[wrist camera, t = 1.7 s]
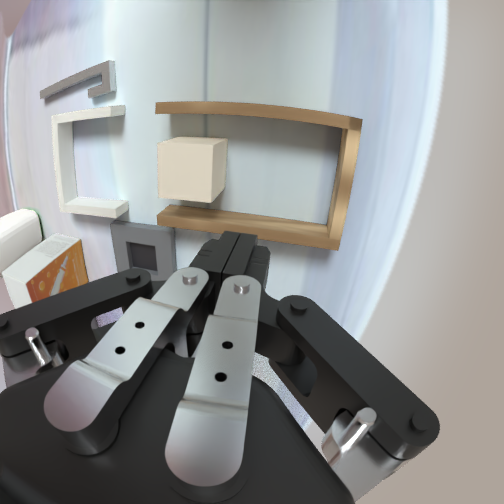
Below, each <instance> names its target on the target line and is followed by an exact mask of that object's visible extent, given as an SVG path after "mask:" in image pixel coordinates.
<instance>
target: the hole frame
mask: <svg viewBox="0 0 504 504" xmlns="http://www.w3.org/2000/svg"><path fill="white" fill-rule="evenodd" d="M110 227H111V234H112V241H113V247H114V253H115V259H116V265H117V271H118V272H121V271H124V270H128V269H132V268H141V269H144V270H147V271H148V272H149V273H150V274H151V280H152V281H165V280H168V279H169V278H170V277H171V276H172V274H173V273H174V272H176V271H177V270H176V255H175V235H174V228H170V227H163V226H155V225H147V224H139V223H132V222H124V221H116V220H115V221H113V222H112V223H111V224H110Z"/></svg>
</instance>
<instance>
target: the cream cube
mask: <svg viewBox="0 0 504 504" xmlns="http://www.w3.org/2000/svg"><path fill="white" fill-rule="evenodd" d="M227 145H228V139H226V138H209V137H184V136H179V137H176V138H172V139H169V140H166V141H162V142H159V143H157V158H158V198H167V199H178V200H188V201H197V202H206V203H212V201H213V200H214V199H215V198H216V197H217V196H218V195H219V194H220V193H221V192H222V190H223V189H224V188H225V181H226V162H227Z"/></svg>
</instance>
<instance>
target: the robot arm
mask: <svg viewBox="0 0 504 504" xmlns="http://www.w3.org/2000/svg"><path fill="white" fill-rule="evenodd" d="M257 239H258V235H254V234H247V233H240V232H232V231H224V232H223V234H222V236H221V237H220V239H219V240H215V239H212V240H210V241H208V242H206V243H205V244H204V245H203V246H202V248H201V250H200V251H199V252H198V254H197V255H196V257H195V258H194V260H193V261H192V263H191V264H190V266H189V267H187V268H182V269H179V270H177V271H176V272H174V273H173V274H172V276H171V277H170V278H169V279H168V280H165V281H152V280H151V274H150V273H149V272H148V271H147V270H144V269H141V268H132V269H128V270H124V271H121V272H118V273H116V274H113V275H110V276H107V277H104V278H101V279H98V280H95V281H92V282H89V283H86V284H84V285H81V286H78V287H75V288H72V289H69V290H66V291H64V292H61V293H58V294H55V295H52V296H50V297H47V298H44V299H41V300H38V301H36V302H33V303H30V304H27V305H25V306H22V307H19V308H17V309H14V310H11V311H9V312H6V313H3V314H1V315H0V355H1V357H2V359H3V367H4V375H5V382H6V387H7V388H6V389H5V390H4V391H2V392H1V393H0V504H355V502H356V501H357V500H358V499H360V498H361V497H362V496H364V495H365V494H366V493H367V492H369V491H370V490H371V489H372V488H374V487H375V486H376V485H377V484H379V483H380V482H381V481H382V480H384V479H385V478H387V477H389V476H390V475H392V474H393V473H394V472H396V471H397V470H398V469H400V468H401V467H403V466H404V465H405V464H406V463H408V462H409V461H410V460H412V459H413V458H414V457H416V456H417V455H418V454H419V453H421V452H422V451H423V450H424V449H425V448H427V447H428V446H429V445H430V444H431V443H432V442H434V440H435V439H436V438H437V436H438V434H439V430H440V424H439V420H438V418H437V416H436V414H435V413H434V412H433V411H432V410H431V409H430V408H429V407H428V406H427V405H426V404H425V403H424V402H422V401H421V400H420V399H419V398H418V397H417V396H416V395H415V394H414V393H413V392H412V391H411V390H410V389H408V388H407V387H406V386H405V385H404V384H403V383H402V382H401V381H400V380H399V379H398V378H396V377H395V376H394V375H393V374H392V373H391V372H390V371H389V370H388V369H387V368H385V367H384V366H383V365H382V364H381V363H380V362H379V361H378V360H377V359H376V358H375V357H374V356H372V354H370V353H369V352H368V351H367V350H366V349H365V348H364V347H363V346H362V345H361V344H360V343H359V342H357V341H356V340H355V339H354V338H353V337H352V336H351V335H350V334H349V333H348V332H347V331H345V330H344V329H343V328H342V327H341V326H340V325H339V324H338V323H337V322H336V321H334V320H333V319H332V318H331V317H330V316H329V315H328V314H327V313H326V312H325V311H324V310H322V309H321V308H320V307H319V306H318V305H317V304H316V303H315V302H314V301H312V300H311V299H309V298H307V297H303V296H298V295H292V296H287V297H284V298H283V299H281V300H280V301H278V300H276V299H273V298H272V297H270V296H269V295H268V294H267V293H266V292H265V288H266V283H267V277H268V269H269V261H270V251H269V250H268V248H267V247H264V246H257ZM120 307H122V311H123V315H122V316H121V317H120V318H119V320H118V321H115V322H113V323H110V324H108V325H105V326H103V327H100V328H97V329H92V327H91V322H92V320H93V319H94V318H95V317H96V316H99V315H101V314H104V313H106V312H109V311H112V310H114V309H117V308H120ZM254 352H256V353H258V354H260V355H263V356H265V357H267V358H269V364H270V366H271V368H272V369H273V370H274V372H275V373H276V374H277V375H278V377H279V378H280V379H281V381H282V382H283V383H284V384H285V386H286V387H287V388H288V389H289V391H290V392H291V393H292V394H293V396H294V397H295V398H296V399H297V401H298V402H299V403H300V404H301V406H302V407H303V408H304V409H305V411H306V412H307V413H308V414H309V415H310V417H311V418H312V419H313V420H314V421H315V423H316V424H317V425H318V426H319V427H320V429H321V430H322V431H323V432H324V433H325V436H324V437H323V440H322V445H321V446H322V451H323V453H324V455H325V457H326V458H327V461H328V463H327V461H326V460H325V459H324V457H323V456H322V455H321V453H320V452H319V451H318V449H317V448H316V447H315V446H314V444H313V443H312V442H311V440H310V439H309V438H308V436H307V435H306V433H305V432H304V431H303V429H302V428H301V427H300V425H299V424H298V423H297V421H296V420H295V418H294V417H293V416H292V414H291V413H290V411H289V410H288V409H287V407H286V406H285V404H284V403H283V402H282V400H281V399H280V397H279V396H278V395H277V393H276V392H275V391H274V390H273V389H272V388H271V387H270V386H268V385H267V384H266V383H265V382H263V381H262V380H260V379H259V378H257V377H255V376H253V375H252V370H253V361H254Z"/></svg>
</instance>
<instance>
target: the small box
mask: <svg viewBox="0 0 504 504" xmlns="http://www.w3.org/2000/svg"><path fill="white" fill-rule="evenodd" d="M2 275H3V278H4V281H5V284H6V287H7V290H8V293H9V296H10V298H11V300H12V303H13V305H14V307H15V309H17V308H19V307H22V306H25V305H27V304H30V303H33V302H36V301H38V300H41V299H44V298H47V297H50V296H52V295H55V294H58V293H61V292H64V291H66V290H69V289H72V288H75V287H78V286H81V285H84V284H86V283H87V282H88V278H87V274H86V269H85V264H84V258H83V252H82V246H81V239H79V238H75V237H71V236H66V235H62V234H58V233H54V234H53V235H51V236H50V237H48V238H47V239H45V240H44V241H42V242H41V243H40V244H38V245H37V246H35V247H34V248H33V249H31V250H30V251H29V252H27V253H26V254H25V255H23V256H22V257H21V258H19V259H18V260H17V261H16V262H14V263H13V264H12V265H10V266H9V267H8V268H7V269H5V270H4V271H3V272H2Z"/></svg>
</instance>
